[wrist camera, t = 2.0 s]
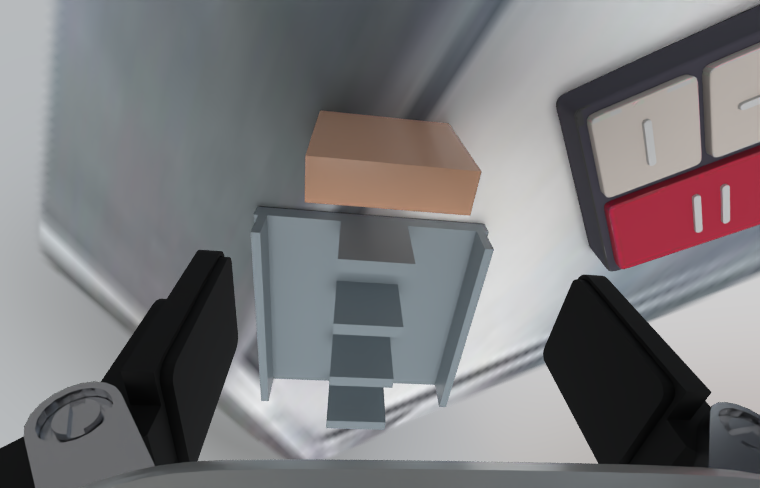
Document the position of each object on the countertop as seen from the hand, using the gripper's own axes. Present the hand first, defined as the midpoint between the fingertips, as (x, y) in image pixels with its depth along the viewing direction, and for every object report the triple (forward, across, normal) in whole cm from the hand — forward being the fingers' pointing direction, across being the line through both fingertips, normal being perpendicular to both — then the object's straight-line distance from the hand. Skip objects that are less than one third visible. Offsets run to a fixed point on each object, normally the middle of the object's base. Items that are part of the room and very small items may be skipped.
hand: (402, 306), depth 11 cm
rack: (+14, 0, +11) cm, 18 cm away
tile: (+14, 0, -1) cm, 14 cm away
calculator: (+14, -18, -3) cm, 23 cm away
